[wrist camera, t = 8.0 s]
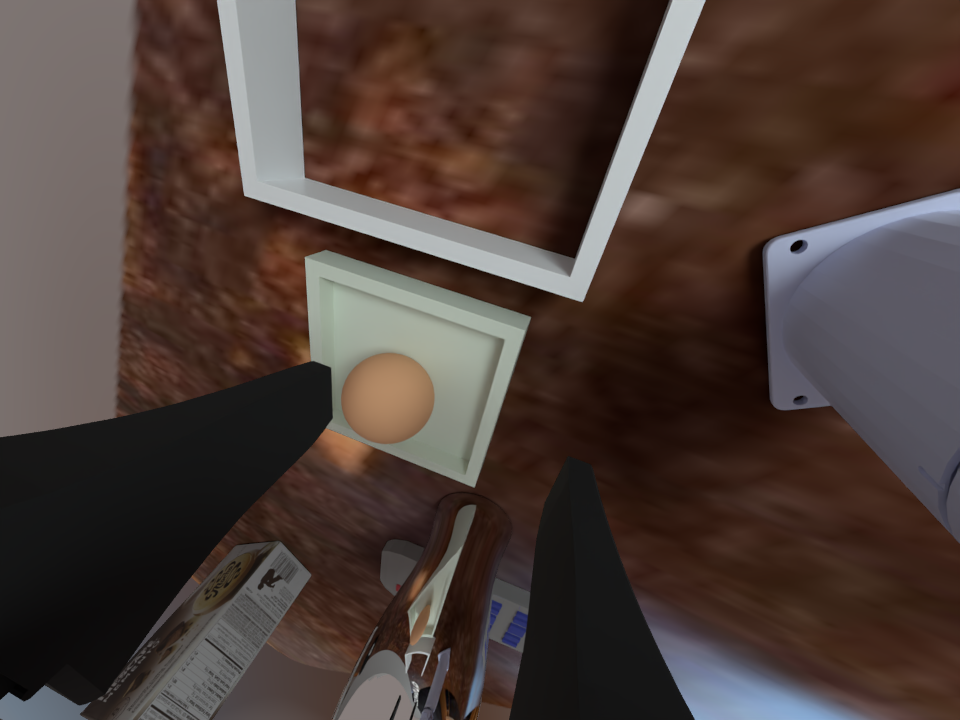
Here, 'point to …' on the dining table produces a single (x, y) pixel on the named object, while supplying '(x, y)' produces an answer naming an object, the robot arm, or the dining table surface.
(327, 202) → the white bent bar
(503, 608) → the remote control
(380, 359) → the ball
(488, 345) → the tray
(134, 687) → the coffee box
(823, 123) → the dining table surface
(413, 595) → the beer glass
